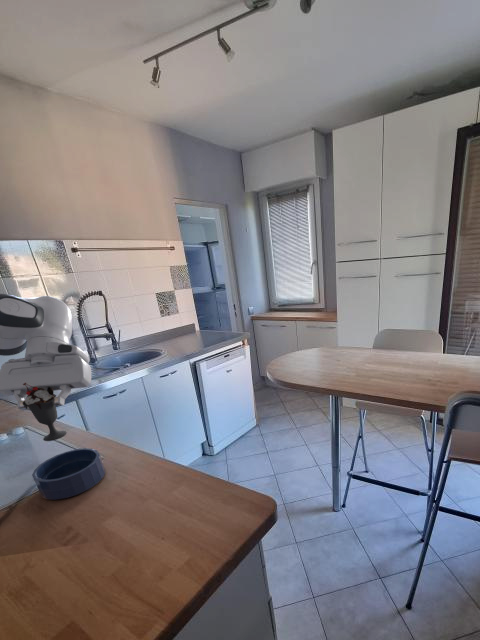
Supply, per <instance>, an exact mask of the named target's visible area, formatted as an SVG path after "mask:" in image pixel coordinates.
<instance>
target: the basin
mask: <svg viewBox="0 0 480 640" xmlns="http://www.w3.org/2000/svg"><path fill="white" fill-rule="evenodd" d="M105 475H106V468H105V465H104V462H103V459H102V456H101V454H100V452H99V451H98V450H97V449H95V448H90V447H89V448H86V447H85V448H76V449H71V450H68V451H64V452H61V453H59V454H56V455H53V456H52V457H50V458H48V459H46V460H45V461H43V462H41V463H40V464H39V465H38V466H37V467H36V468H35V469H34V470H33V471H32V474H31V477H32V479H33V481H34V483H35V485H36V487H37V489H38V491H39V494H40V495H41V497H42V498H43V499H46V500H53V501H55V500H63V499H67V498H71V497H74V496H78V495H80V494H82V493H84V492H86V491H88V490H90V489H91V488H93V487H94V486H96V485H97V484H98V483H100V481H102V480H103V478H104V477H105Z"/></svg>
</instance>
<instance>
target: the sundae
mask: <svg viewBox="0 0 480 640" xmlns="http://www.w3.org/2000/svg"><path fill="white" fill-rule="evenodd" d="M25 384H26V383H24V384H23V385H25ZM27 385H28V384H27ZM25 386H26V385H25ZM29 386H30V385H29ZM26 387H27V386H26ZM31 387H32V386H31ZM32 389H33V390H32V391H28V387H27V392H26V394H27V395H26V397H24V400H25V401H24V402H23V405H24V406H25V407H28V408H29V409H28V410H29V411H30V412H31V413H32V415H33V416H34V419H35V420H36V422H38V423H39V424H42V425H45V426H47V427H48V430H49V433H48V434H46V435H45V436H44V437H43V438H42V440H43V441H44V442H52V441H57V440H60V439H62V438H64V437H65V436H67V433H68V432H67V431H66V430H57V429H56V427H55V425H54V423H55V422H56V420H57V419H58V410H57V406H56V405H54V403H53V402H54V397H57V394H55V391H53V390H52V389H51V388H50V387H48V389H47V390H45V389H43V388H38V387H33V388H32Z"/></svg>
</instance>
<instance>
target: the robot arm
mask: <svg viewBox="0 0 480 640" xmlns="http://www.w3.org/2000/svg"><path fill="white" fill-rule="evenodd" d="M72 335H73V315H72V311H71V308H70V307H69V305H68V304H67V303H65V302H64V301H63V300H61V299H59V298H57V297H54V296H51V295H40V296H37V297H18V296H16V295H12V294H8V293H0V356H3V357H5V356H6V357H7V356H8V357H9V356H15V355H18V354H20V353H22V352H23V351H25V353H24V357H20V358H11V359H8V360H7V361H6V362H4V363H2V364H1V366H0V394H1V395H4V396H7V397H8V396H14V398H15V399H16V401H17V409H18V410H20V411H27V410H30V409H29V408H28V407H25V406H24V405H23V402H24V401H25V398H26V397H27V396H28V395H27V394H26V392H27V387H28V391H32V390H33V389H32V388H33V387H38V388H43V389H45V390H47V389H48V387H50V388H51V389H52V390H53V391H54V392H55V391H60V392H59V393H58V395H57V396H56V397H54V402H53V403H54V405H55V406H56V407H60V406H61V407H63V406H65V402H66V399H67V398H68V396H69V395H70V394H71V392H72V390H73V389H84V388H88V387H89V386H90V385H91V384H92V367H91V365H90V362H91V359H90V357H89V356H88V354H87V353H85V352H84V351H83V350H82V349H81V348H80V347H79V346H77V345H74V344H70V339H71V337H72ZM24 383H26V384H25V385H26V386H27V387H26V386H25V385H23V384H24ZM27 384H28V385H27ZM29 385H30V386H29ZM31 386H32V387H31Z"/></svg>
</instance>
